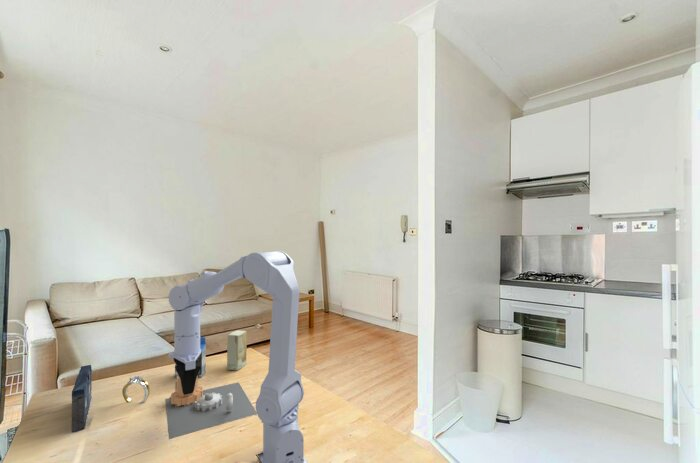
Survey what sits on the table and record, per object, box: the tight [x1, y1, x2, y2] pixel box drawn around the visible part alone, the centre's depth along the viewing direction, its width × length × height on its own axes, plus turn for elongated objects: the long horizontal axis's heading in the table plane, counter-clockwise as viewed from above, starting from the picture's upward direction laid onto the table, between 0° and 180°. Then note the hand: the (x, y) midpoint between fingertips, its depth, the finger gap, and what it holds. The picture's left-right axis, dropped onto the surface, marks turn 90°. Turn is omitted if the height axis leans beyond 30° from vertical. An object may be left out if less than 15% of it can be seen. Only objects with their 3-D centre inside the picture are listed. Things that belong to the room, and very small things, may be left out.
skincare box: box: [226, 330, 248, 371], centre depth 118 cm, size 6×4×12 cm
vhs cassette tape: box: [71, 364, 93, 433], centre depth 87 cm, size 18×3×10 cm, turn 33°
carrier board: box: [164, 380, 257, 440], centre depth 89 cm, size 21×20×7 cm
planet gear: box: [170, 375, 204, 406], centre depth 80 cm, size 7×7×6 cm
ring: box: [121, 375, 151, 404], centre depth 91 cm, size 7×3×8 cm, turn 82°
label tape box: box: [174, 336, 207, 379], centre depth 111 cm, size 9×4×12 cm, turn 94°
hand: (187, 389), depth 80 cm, fingers closed on planet gear, 4 cm apart
